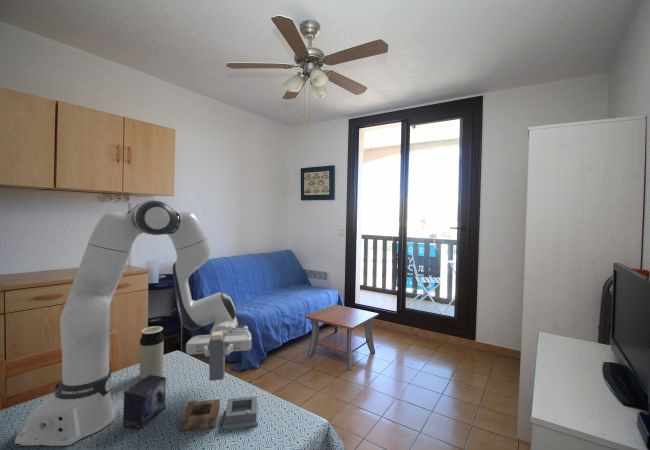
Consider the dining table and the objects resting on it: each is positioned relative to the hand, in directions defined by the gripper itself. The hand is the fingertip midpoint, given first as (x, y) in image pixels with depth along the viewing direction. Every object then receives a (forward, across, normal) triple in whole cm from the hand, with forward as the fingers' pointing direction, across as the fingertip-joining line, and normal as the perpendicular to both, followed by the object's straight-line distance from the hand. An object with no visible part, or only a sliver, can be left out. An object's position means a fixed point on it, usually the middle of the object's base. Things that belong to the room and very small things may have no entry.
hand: (217, 353), depth 93 cm
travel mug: (-32, -28, +20) cm, 48 cm away
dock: (0, +7, +20) cm, 22 cm away
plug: (-1, 0, +8) cm, 8 cm away
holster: (-1, -5, +20) cm, 21 cm away
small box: (-5, -22, +20) cm, 30 cm away
